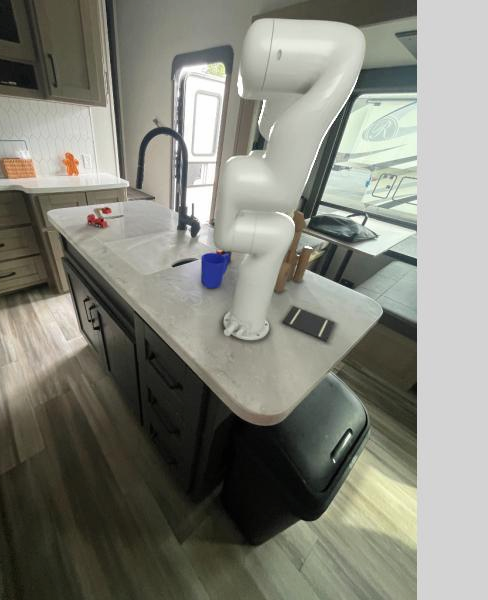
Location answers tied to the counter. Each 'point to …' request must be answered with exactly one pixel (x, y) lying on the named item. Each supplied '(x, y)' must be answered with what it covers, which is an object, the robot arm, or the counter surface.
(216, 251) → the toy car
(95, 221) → the toy fire truck
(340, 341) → the counter surface
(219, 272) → the mug
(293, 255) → the wooden toy
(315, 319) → the mat
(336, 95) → the robot arm
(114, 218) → the counter surface
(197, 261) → the counter surface
